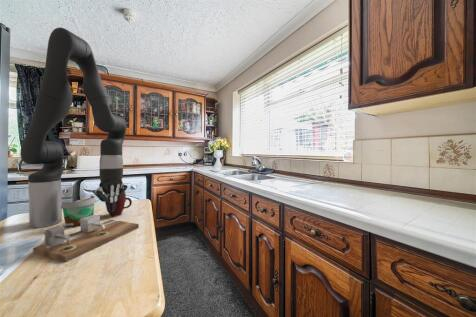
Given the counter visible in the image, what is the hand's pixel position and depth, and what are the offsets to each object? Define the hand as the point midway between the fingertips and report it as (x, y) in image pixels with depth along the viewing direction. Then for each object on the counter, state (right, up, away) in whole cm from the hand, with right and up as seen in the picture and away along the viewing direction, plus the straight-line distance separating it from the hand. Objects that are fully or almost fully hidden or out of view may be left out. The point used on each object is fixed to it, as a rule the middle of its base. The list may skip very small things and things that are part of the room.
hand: (111, 211), depth 74 cm
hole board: (0, -7, -10) cm, 12 cm away
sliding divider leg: (0, -4, -8) cm, 9 cm away
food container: (-13, -6, +3) cm, 15 cm away
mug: (-6, -6, +15) cm, 17 cm away
